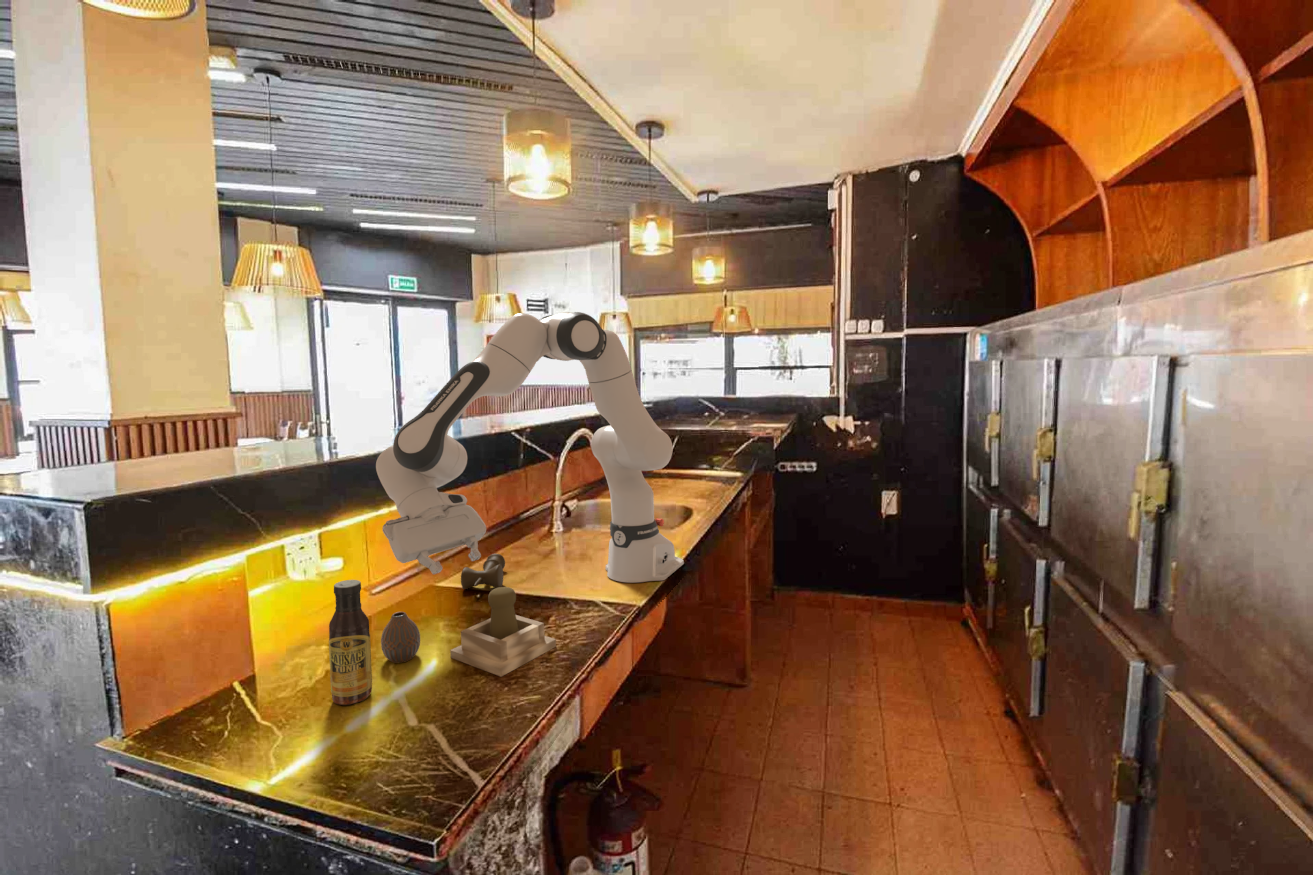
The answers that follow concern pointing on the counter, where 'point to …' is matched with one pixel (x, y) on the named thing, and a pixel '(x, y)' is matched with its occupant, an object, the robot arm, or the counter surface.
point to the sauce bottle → (349, 646)
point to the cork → (502, 612)
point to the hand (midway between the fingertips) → (458, 565)
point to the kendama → (485, 573)
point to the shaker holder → (502, 646)
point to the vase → (400, 638)
